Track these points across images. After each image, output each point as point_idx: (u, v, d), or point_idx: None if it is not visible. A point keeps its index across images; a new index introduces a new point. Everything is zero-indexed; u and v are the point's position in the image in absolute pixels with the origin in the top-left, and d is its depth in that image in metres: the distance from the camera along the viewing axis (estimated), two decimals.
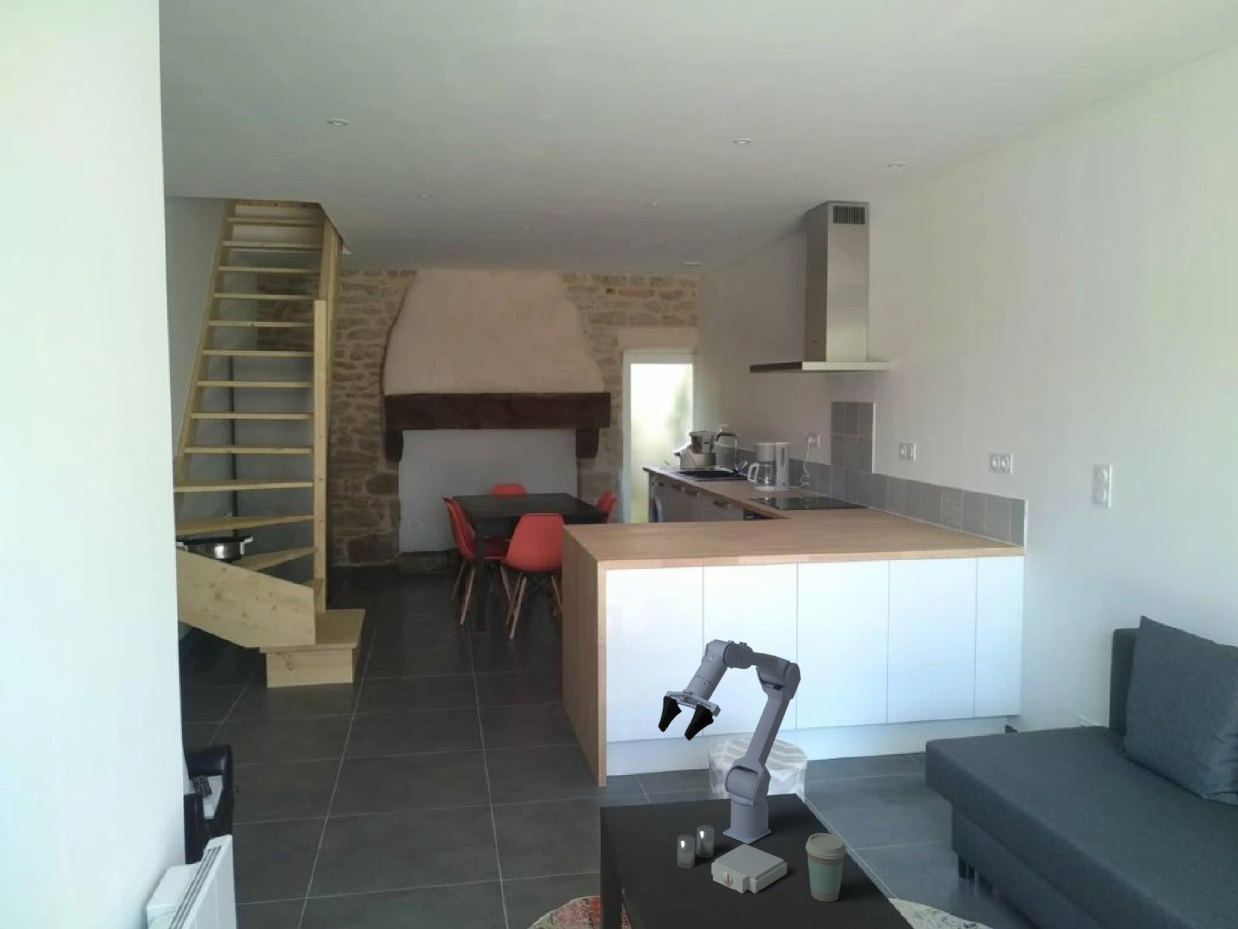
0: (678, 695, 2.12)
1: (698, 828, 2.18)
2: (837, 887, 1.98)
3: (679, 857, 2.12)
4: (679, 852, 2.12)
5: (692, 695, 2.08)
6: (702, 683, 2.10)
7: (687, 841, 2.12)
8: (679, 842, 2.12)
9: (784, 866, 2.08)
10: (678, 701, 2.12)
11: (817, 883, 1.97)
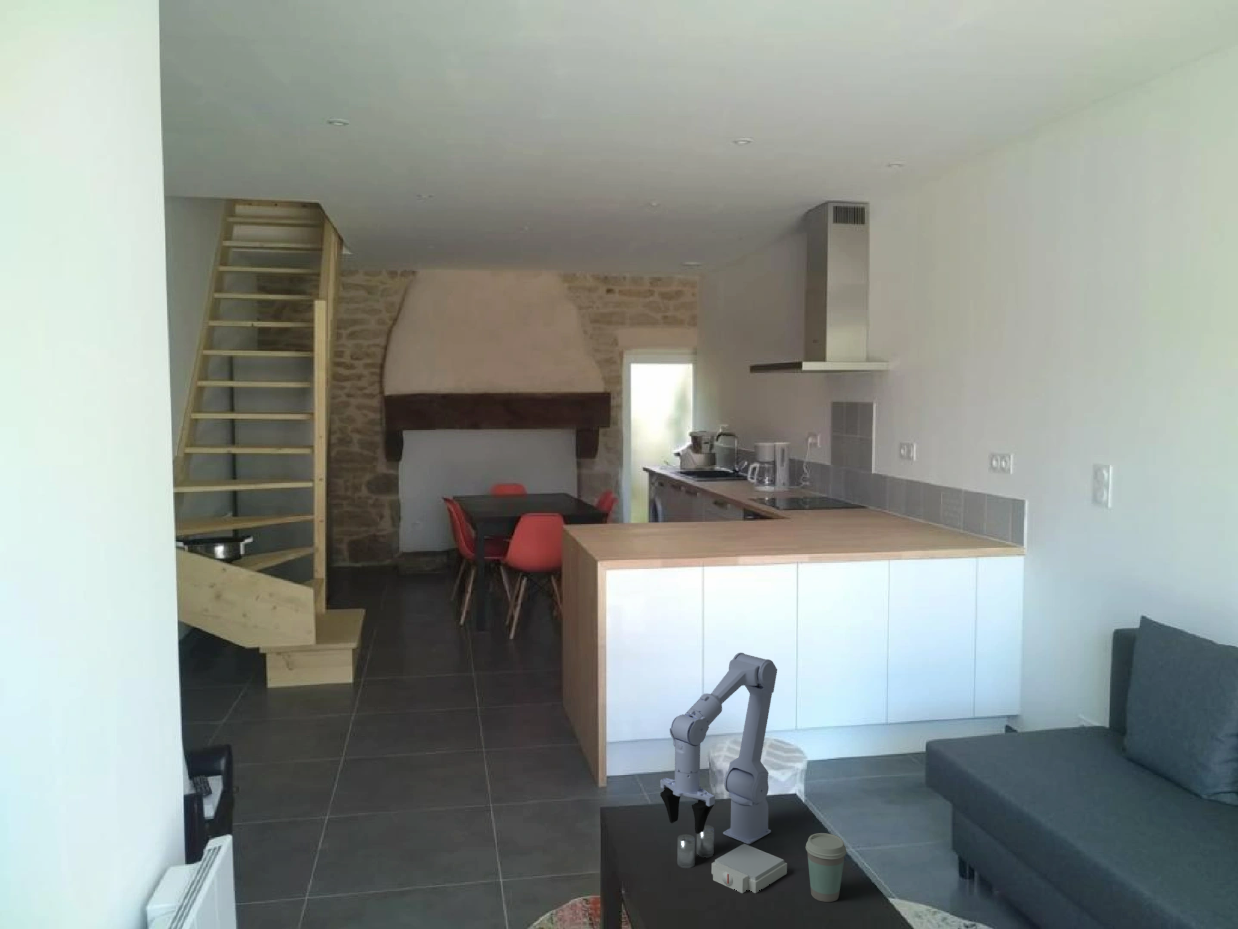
0: None
1: None
2: (837, 887, 1.98)
3: (679, 857, 2.12)
4: (679, 852, 2.12)
5: (683, 794, 2.09)
6: (686, 778, 2.09)
7: (687, 841, 2.12)
8: (679, 842, 2.12)
9: (784, 866, 2.08)
10: None
11: (817, 883, 1.97)
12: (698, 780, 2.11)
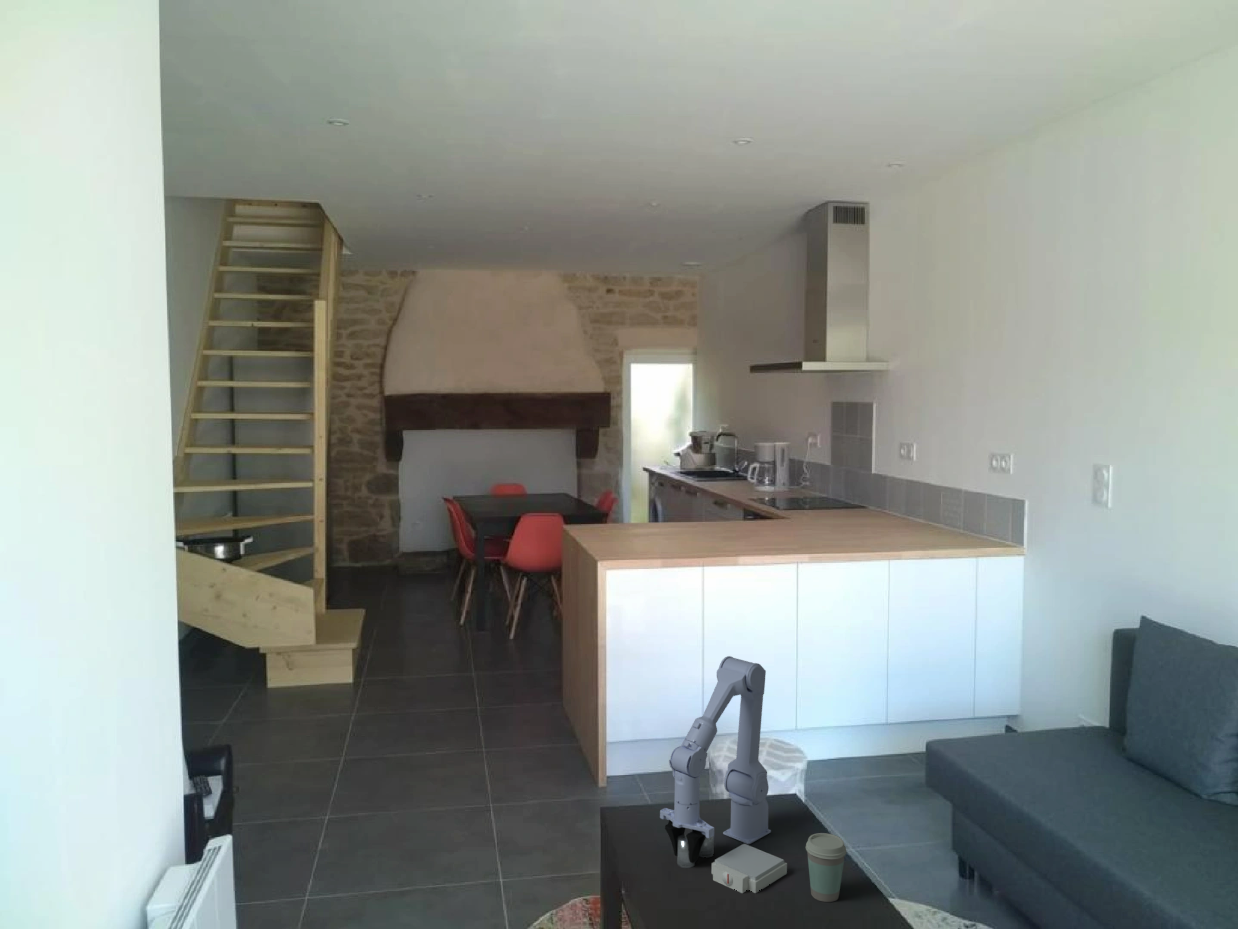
0: None
1: None
2: (837, 887, 1.98)
3: (679, 857, 2.12)
4: (679, 852, 2.12)
5: (683, 826, 2.10)
6: (685, 809, 2.10)
7: (687, 841, 2.12)
8: (679, 842, 2.12)
9: (784, 866, 2.08)
10: None
11: (817, 883, 1.97)
12: (698, 811, 2.11)
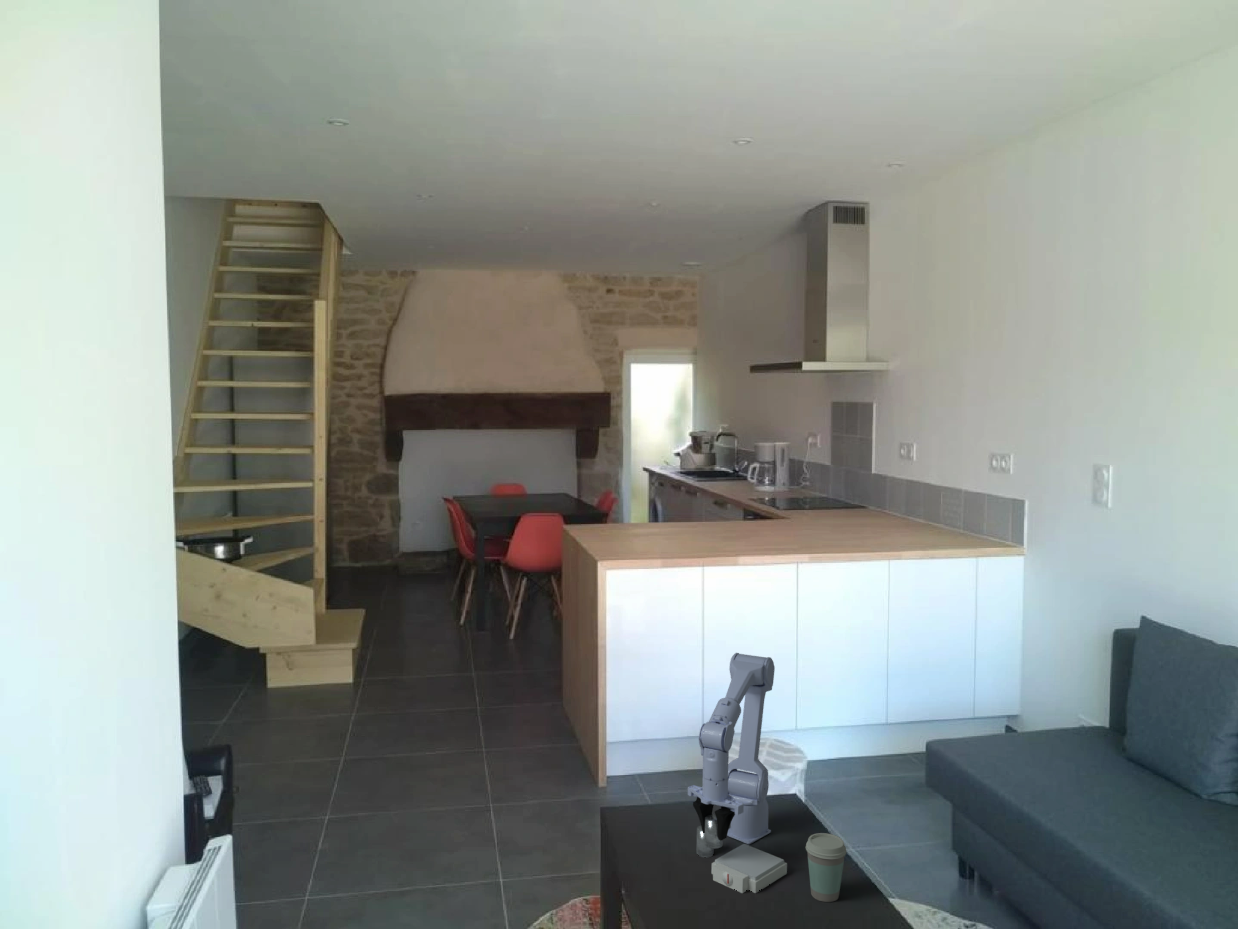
0: None
1: (698, 828, 2.18)
2: (837, 887, 1.98)
3: (706, 837, 2.08)
4: (707, 832, 2.08)
5: (711, 802, 2.06)
6: (714, 786, 2.06)
7: (714, 821, 2.08)
8: (706, 822, 2.08)
9: (784, 866, 2.08)
10: None
11: (817, 883, 1.97)
12: (726, 788, 2.07)
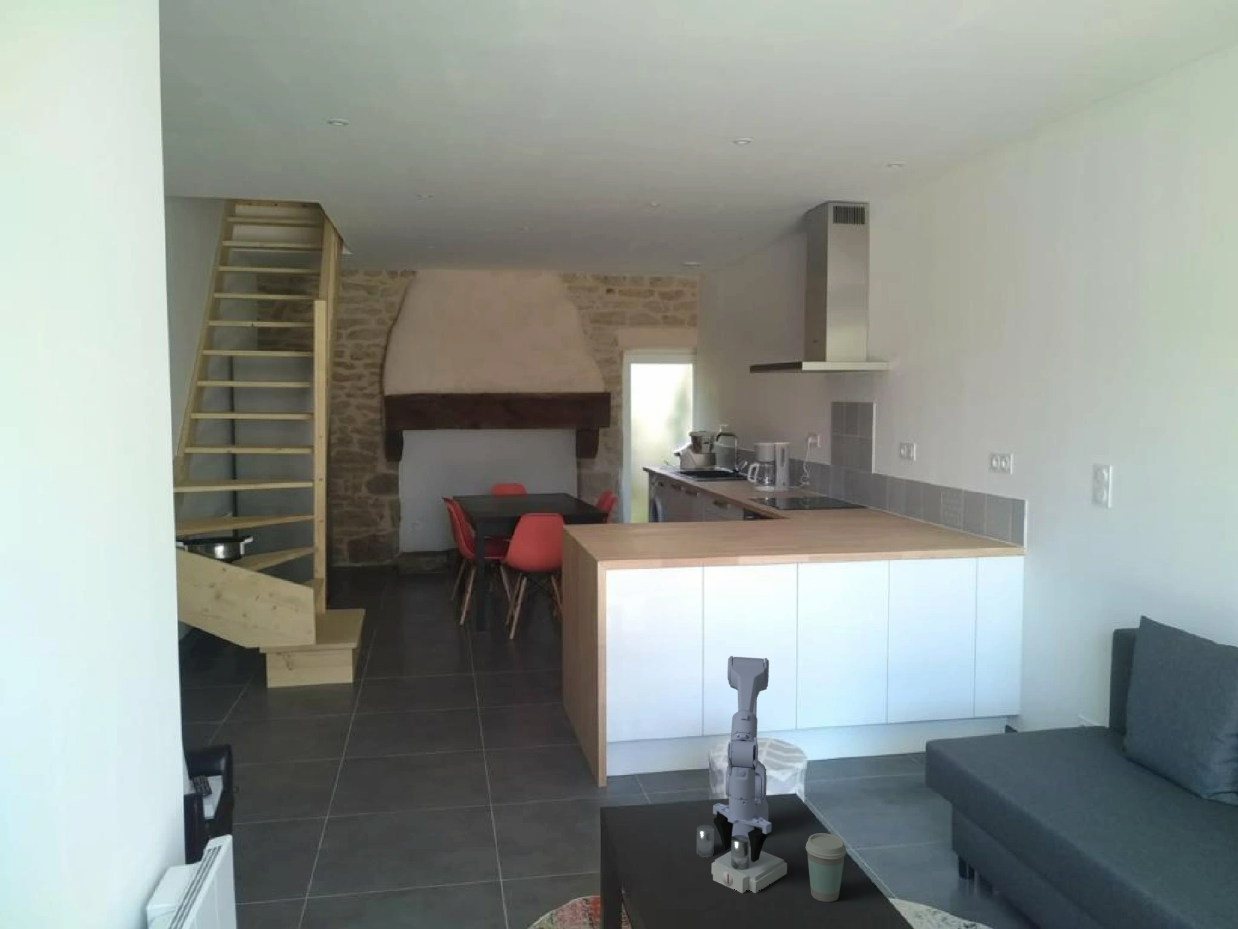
0: None
1: (698, 828, 2.18)
2: (837, 887, 1.98)
3: (733, 858, 2.05)
4: (733, 853, 2.05)
5: (738, 821, 2.03)
6: (741, 804, 2.03)
7: (741, 842, 2.04)
8: (733, 843, 2.05)
9: (784, 866, 2.08)
10: None
11: (817, 883, 1.97)
12: (753, 806, 2.04)
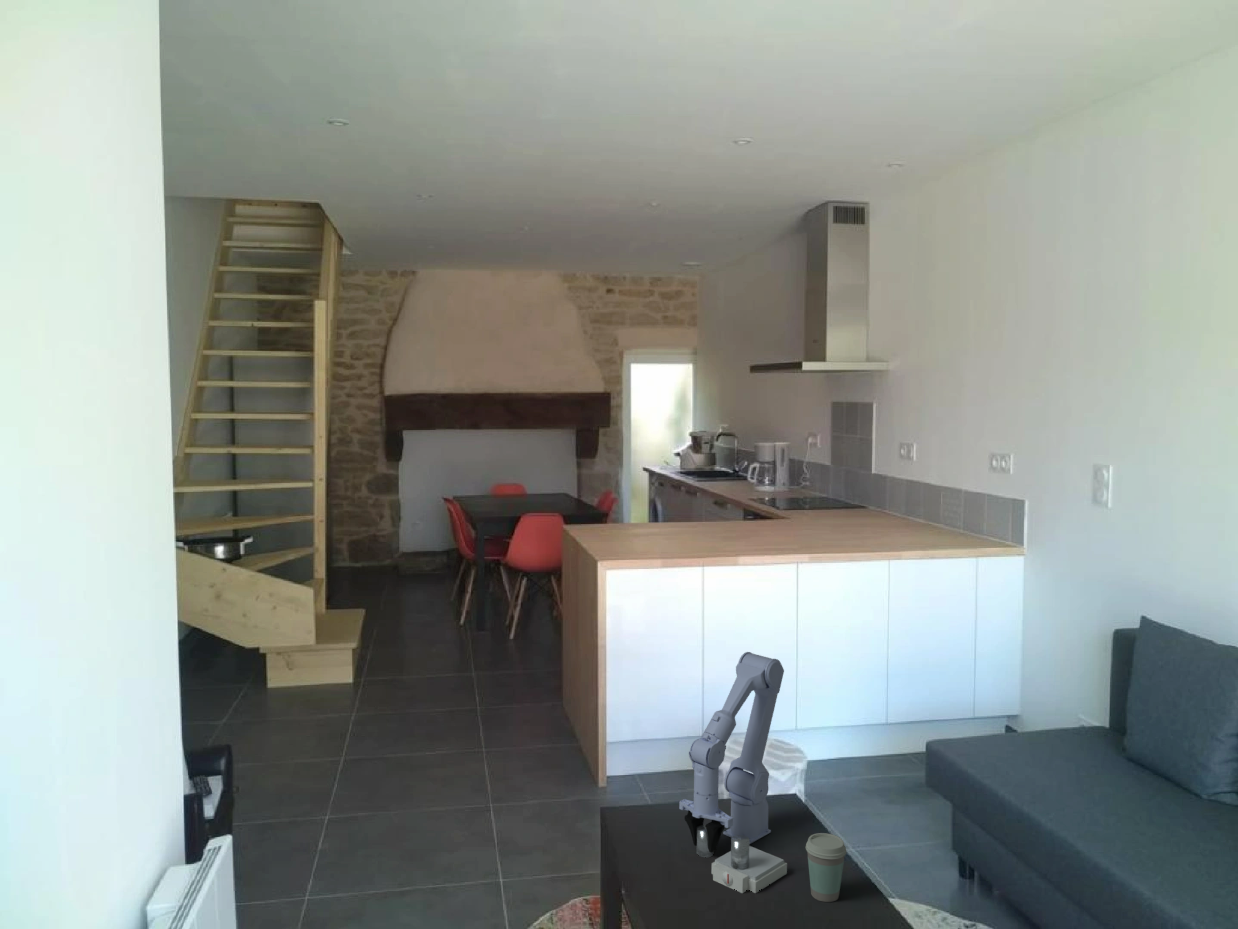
0: None
1: (698, 828, 2.18)
2: (837, 887, 1.98)
3: (732, 858, 2.05)
4: (733, 853, 2.05)
5: (702, 816, 2.15)
6: (705, 800, 2.15)
7: (741, 842, 2.04)
8: (732, 842, 2.05)
9: (784, 866, 2.08)
10: None
11: (817, 883, 1.97)
12: (717, 802, 2.16)
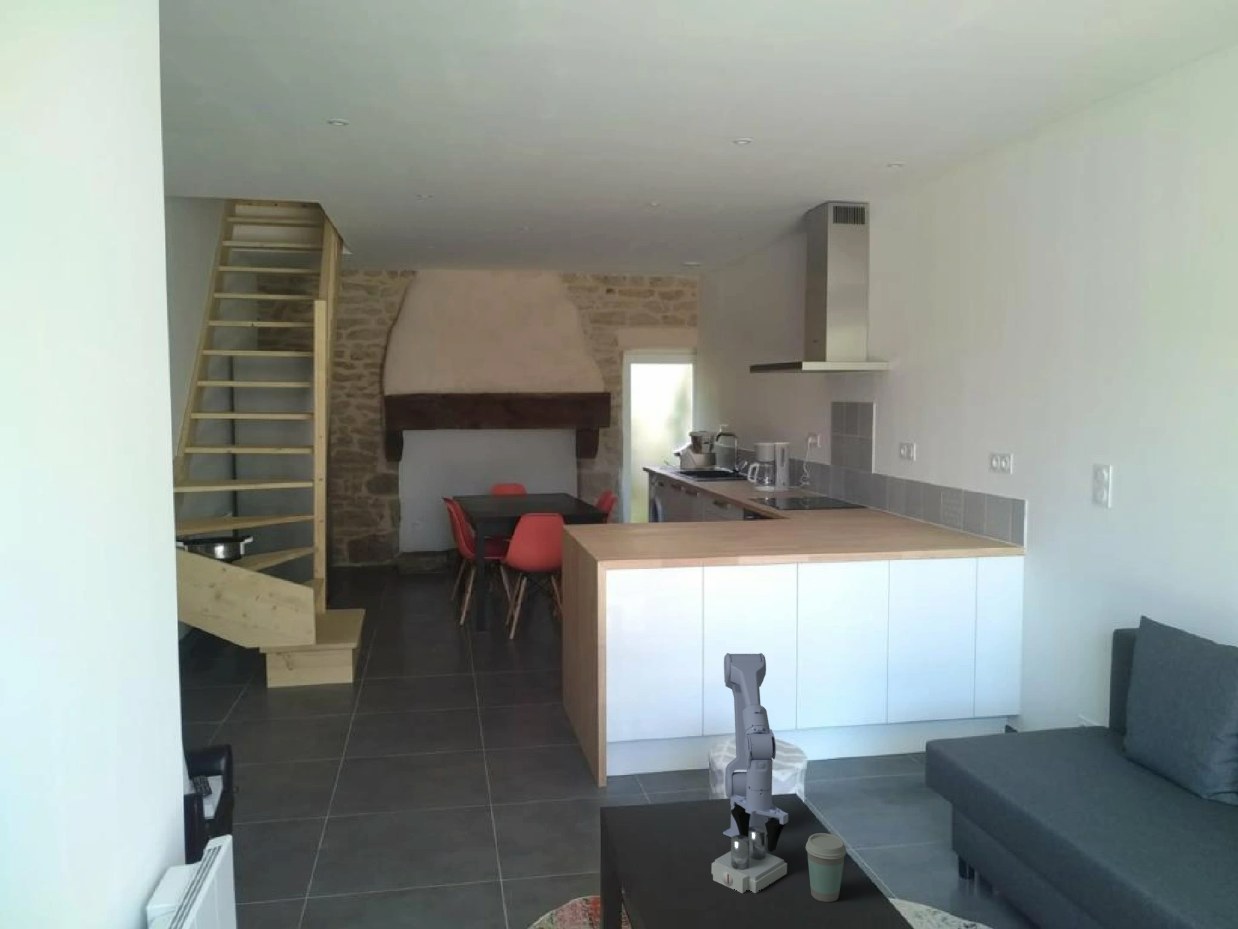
0: None
1: (750, 829, 2.11)
2: (837, 887, 1.98)
3: (732, 858, 2.05)
4: (733, 853, 2.05)
5: (756, 812, 2.08)
6: (758, 795, 2.08)
7: (741, 842, 2.05)
8: (733, 842, 2.05)
9: (784, 866, 2.08)
10: None
11: (817, 883, 1.97)
12: (770, 798, 2.09)
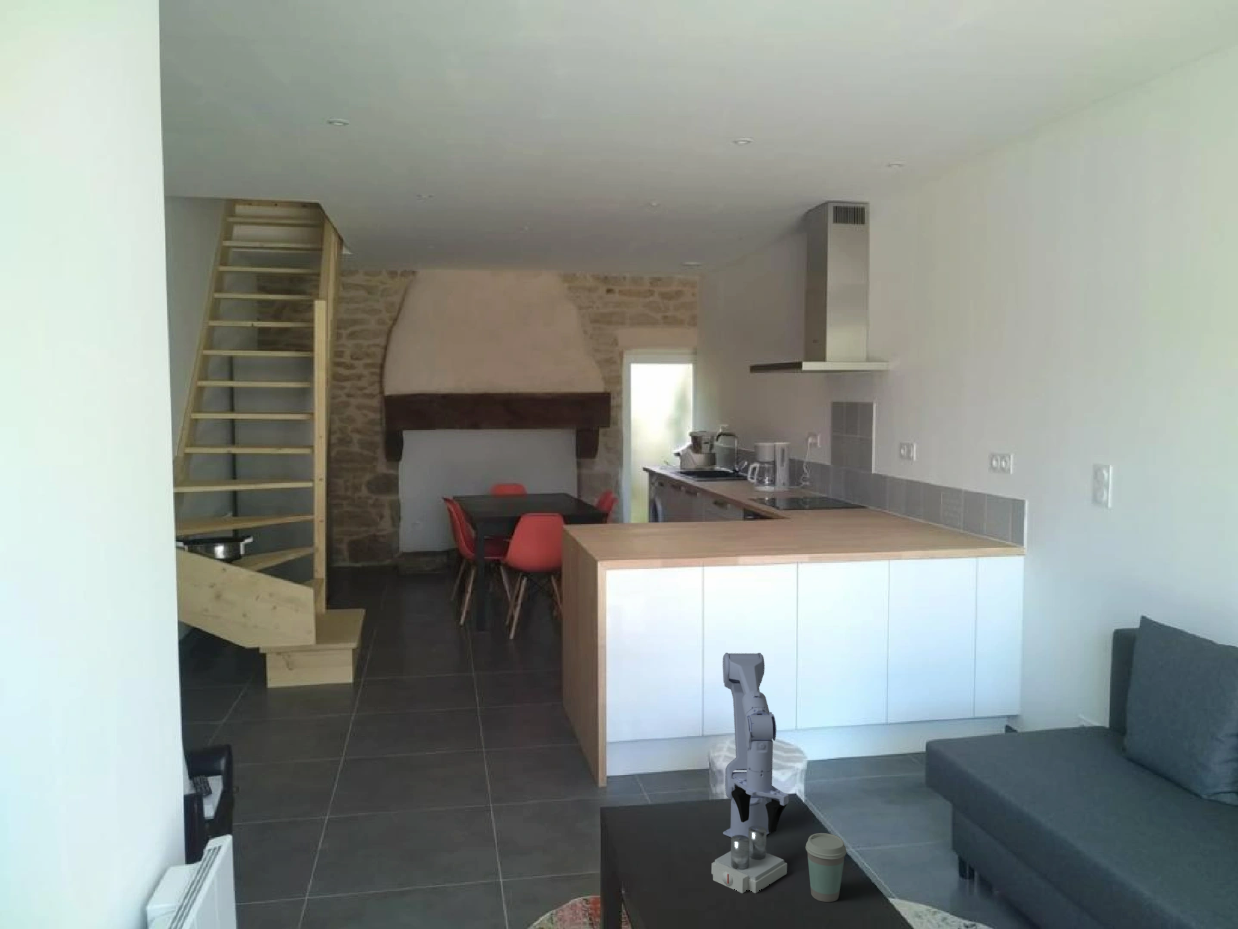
0: None
1: (750, 829, 2.11)
2: (837, 887, 1.98)
3: (732, 858, 2.05)
4: (733, 853, 2.05)
5: (756, 793, 2.07)
6: (759, 777, 2.07)
7: (741, 842, 2.04)
8: (732, 842, 2.05)
9: (784, 866, 2.08)
10: (745, 789, 2.12)
11: (817, 883, 1.97)
12: (771, 779, 2.09)
